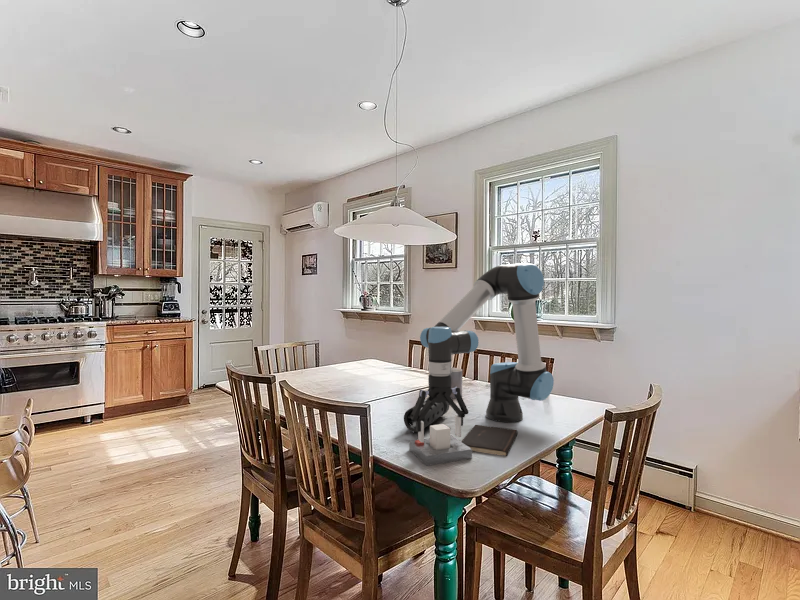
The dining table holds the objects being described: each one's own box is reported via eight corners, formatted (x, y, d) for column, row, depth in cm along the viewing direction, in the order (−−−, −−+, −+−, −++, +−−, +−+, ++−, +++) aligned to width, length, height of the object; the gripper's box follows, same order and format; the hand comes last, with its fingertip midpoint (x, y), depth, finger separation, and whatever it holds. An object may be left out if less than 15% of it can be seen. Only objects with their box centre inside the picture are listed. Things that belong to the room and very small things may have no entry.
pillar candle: (439, 395, 222) (439, 366, 221) (455, 392, 226) (455, 364, 225) (449, 399, 213) (449, 369, 212) (466, 397, 217) (466, 367, 217)
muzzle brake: (402, 433, 163) (402, 406, 163) (430, 414, 188) (430, 390, 188) (426, 437, 159) (426, 409, 159) (451, 416, 184) (451, 392, 184)
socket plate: (451, 443, 152) (451, 433, 151) (472, 458, 138) (472, 446, 138) (409, 450, 146) (409, 438, 146) (426, 465, 133) (426, 453, 133)
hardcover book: (458, 450, 147) (458, 443, 147) (475, 430, 168) (475, 424, 168) (506, 458, 140) (506, 451, 140) (517, 436, 161) (517, 429, 161)
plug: (443, 450, 145) (443, 423, 145) (450, 455, 141) (450, 428, 140) (429, 452, 143) (429, 425, 143) (436, 457, 139) (436, 430, 139)
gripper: (409, 379, 133) (409, 447, 134) (478, 373, 142) (478, 437, 143) (400, 374, 140) (400, 439, 141) (467, 369, 149) (467, 430, 150)
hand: (439, 438), depth 142 cm, fingers open, 13 cm apart
